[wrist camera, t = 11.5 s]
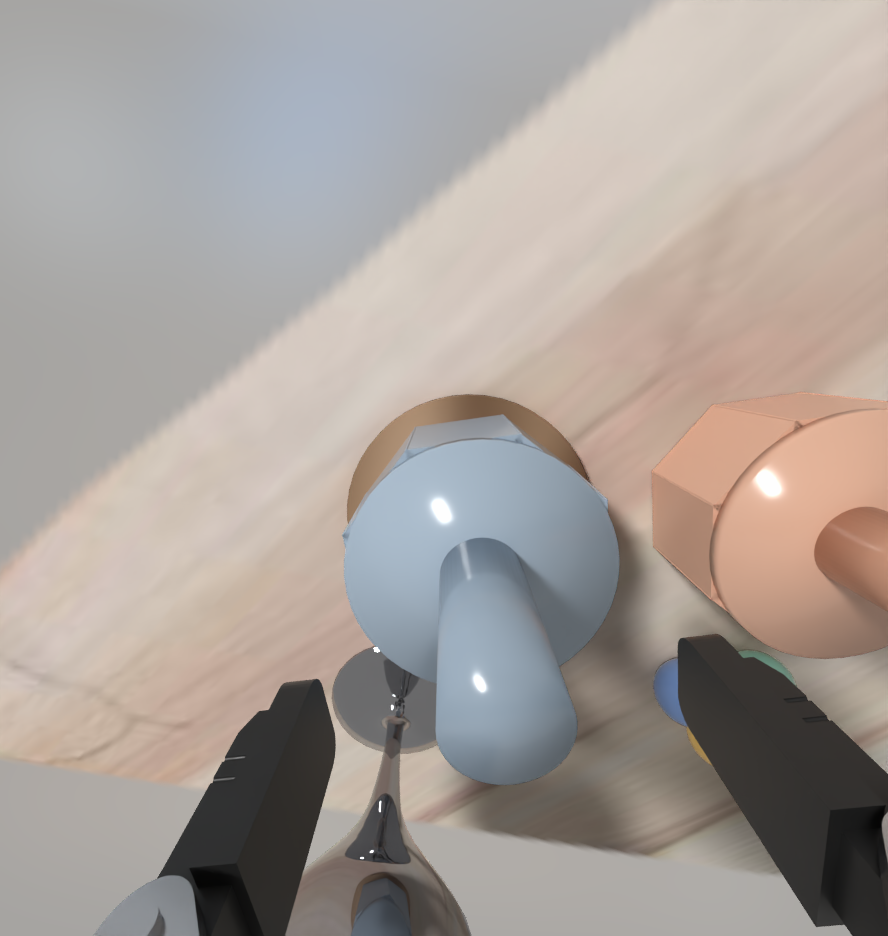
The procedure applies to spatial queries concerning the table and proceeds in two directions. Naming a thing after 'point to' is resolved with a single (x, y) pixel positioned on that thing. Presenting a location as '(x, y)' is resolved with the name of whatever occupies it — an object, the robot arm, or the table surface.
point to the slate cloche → (484, 587)
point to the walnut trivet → (449, 412)
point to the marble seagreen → (768, 662)
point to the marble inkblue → (668, 690)
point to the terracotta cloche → (784, 519)
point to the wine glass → (379, 820)
